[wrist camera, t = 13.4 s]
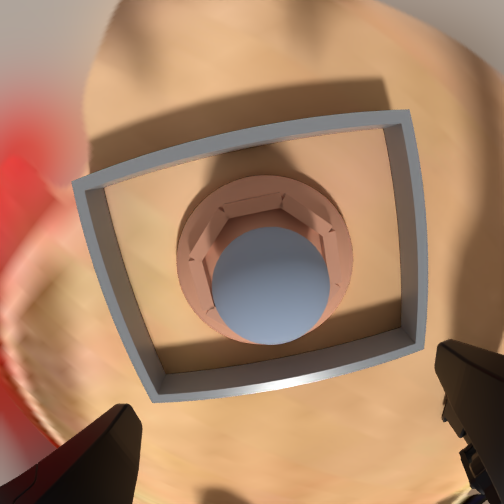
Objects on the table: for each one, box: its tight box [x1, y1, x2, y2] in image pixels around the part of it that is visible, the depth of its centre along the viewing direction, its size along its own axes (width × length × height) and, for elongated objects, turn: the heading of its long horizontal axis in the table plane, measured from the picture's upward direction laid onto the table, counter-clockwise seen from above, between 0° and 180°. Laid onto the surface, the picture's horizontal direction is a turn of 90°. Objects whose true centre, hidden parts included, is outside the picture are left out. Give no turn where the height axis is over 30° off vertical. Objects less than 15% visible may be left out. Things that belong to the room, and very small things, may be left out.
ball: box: [212, 227, 330, 345], centre depth 15 cm, size 6×6×6 cm
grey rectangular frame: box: [72, 109, 428, 403], centre depth 17 cm, size 20×16×2 cm
